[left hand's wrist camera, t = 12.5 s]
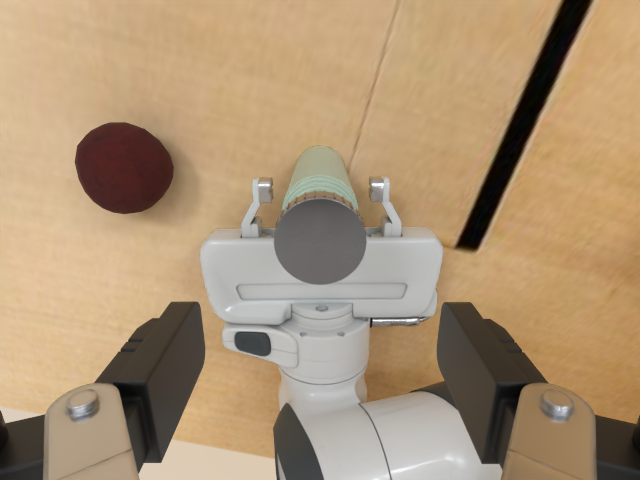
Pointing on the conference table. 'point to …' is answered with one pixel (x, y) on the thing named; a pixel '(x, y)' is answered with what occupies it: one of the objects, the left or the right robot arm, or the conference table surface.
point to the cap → (320, 238)
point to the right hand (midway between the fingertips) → (320, 177)
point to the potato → (123, 167)
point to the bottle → (320, 175)
